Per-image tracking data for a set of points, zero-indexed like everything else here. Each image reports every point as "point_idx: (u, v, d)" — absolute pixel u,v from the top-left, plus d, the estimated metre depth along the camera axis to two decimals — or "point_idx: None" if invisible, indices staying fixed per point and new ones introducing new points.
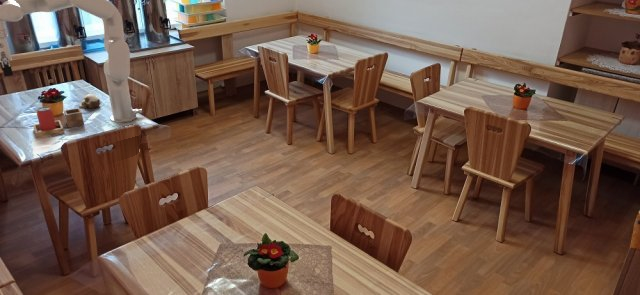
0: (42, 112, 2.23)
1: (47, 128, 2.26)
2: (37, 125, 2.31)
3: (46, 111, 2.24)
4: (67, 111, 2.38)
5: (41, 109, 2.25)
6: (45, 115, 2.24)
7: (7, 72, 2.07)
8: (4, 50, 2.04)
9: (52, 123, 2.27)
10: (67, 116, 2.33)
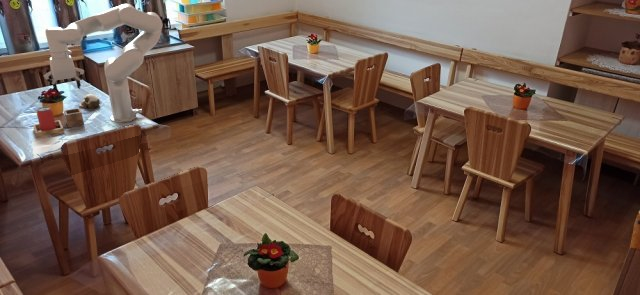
0: (42, 112, 2.23)
1: (47, 128, 2.26)
2: (37, 125, 2.31)
3: (46, 111, 2.24)
4: (67, 111, 2.38)
5: (41, 109, 2.25)
6: (45, 115, 2.24)
7: (80, 84, 2.33)
8: None
9: (52, 123, 2.27)
10: (67, 116, 2.33)
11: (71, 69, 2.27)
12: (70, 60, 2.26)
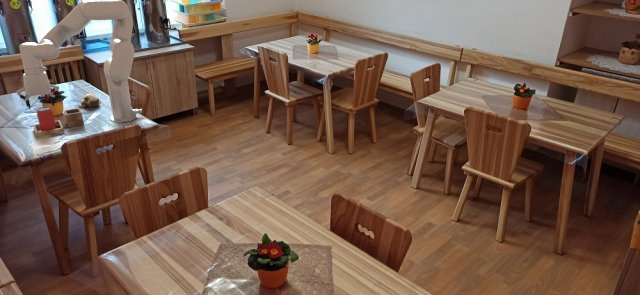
0: (42, 112, 2.23)
1: (47, 128, 2.26)
2: (37, 125, 2.31)
3: (46, 111, 2.24)
4: (67, 111, 2.38)
5: (41, 109, 2.25)
6: (45, 115, 2.24)
7: (54, 101, 2.26)
8: None
9: (52, 123, 2.27)
10: (67, 116, 2.33)
11: (45, 86, 2.20)
12: (45, 76, 2.19)
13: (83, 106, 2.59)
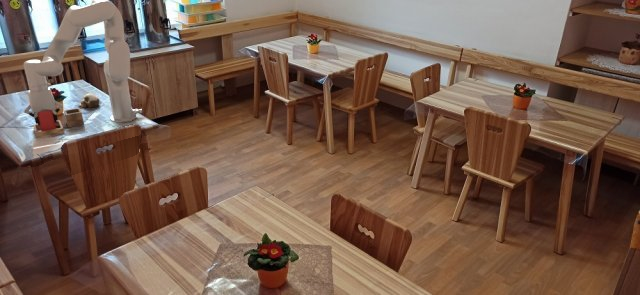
0: (42, 112, 2.23)
1: (47, 128, 2.26)
2: (37, 125, 2.31)
3: (46, 111, 2.24)
4: (67, 111, 2.38)
5: None
6: (45, 115, 2.24)
7: (57, 118, 2.30)
8: (53, 97, 2.26)
9: (52, 123, 2.27)
10: (67, 116, 2.33)
11: (50, 102, 2.24)
12: (49, 93, 2.22)
13: (83, 106, 2.59)
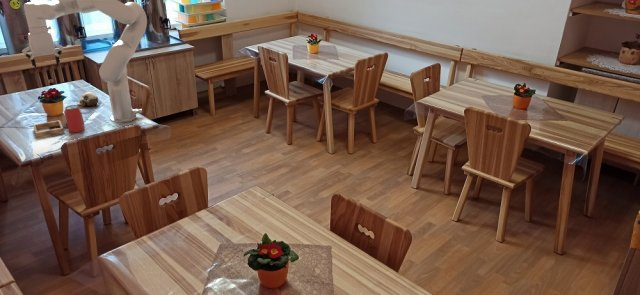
0: (70, 110, 2.24)
1: (74, 126, 2.27)
2: (37, 125, 2.31)
3: (74, 109, 2.25)
4: None
5: (69, 107, 2.26)
6: (73, 113, 2.24)
7: None
8: None
9: (80, 121, 2.28)
10: None
11: (49, 45, 2.27)
12: (49, 36, 2.26)
13: (82, 104, 2.61)
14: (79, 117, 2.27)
